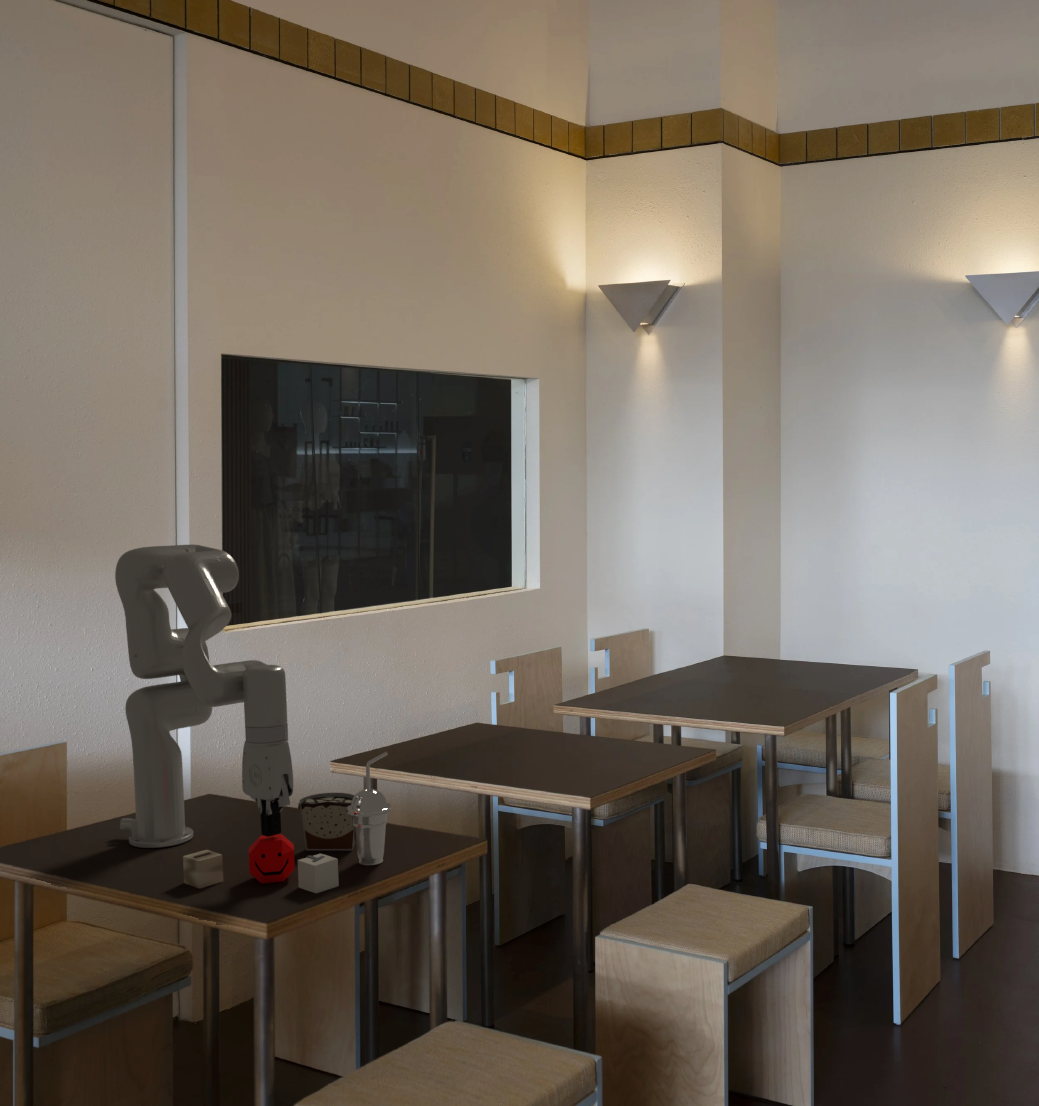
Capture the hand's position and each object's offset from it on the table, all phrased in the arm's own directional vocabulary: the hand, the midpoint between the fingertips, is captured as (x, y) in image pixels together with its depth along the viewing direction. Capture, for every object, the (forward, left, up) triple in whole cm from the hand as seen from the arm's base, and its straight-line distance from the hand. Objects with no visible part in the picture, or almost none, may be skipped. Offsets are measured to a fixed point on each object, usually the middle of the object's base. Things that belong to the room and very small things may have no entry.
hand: (271, 834), depth 221 cm
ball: (0, 0, -9) cm, 9 cm away
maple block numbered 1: (-12, -3, -8) cm, 15 cm away
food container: (+4, +21, -9) cm, 23 cm away
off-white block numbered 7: (+10, -3, -8) cm, 13 cm away
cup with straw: (+15, +12, -9) cm, 21 cm away
